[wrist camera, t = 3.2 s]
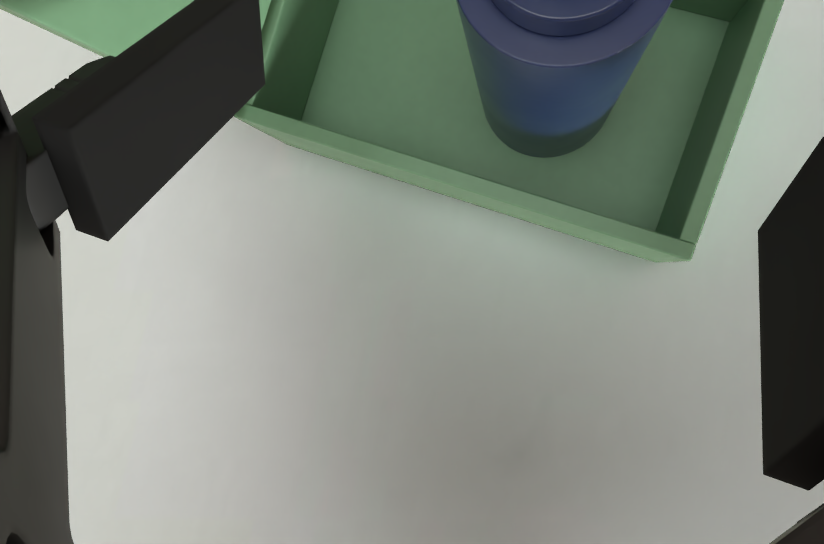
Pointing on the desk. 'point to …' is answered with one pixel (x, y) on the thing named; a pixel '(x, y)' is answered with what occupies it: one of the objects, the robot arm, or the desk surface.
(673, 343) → the desk surface
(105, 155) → the robot arm
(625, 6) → the bottle
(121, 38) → the lid
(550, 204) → the box
